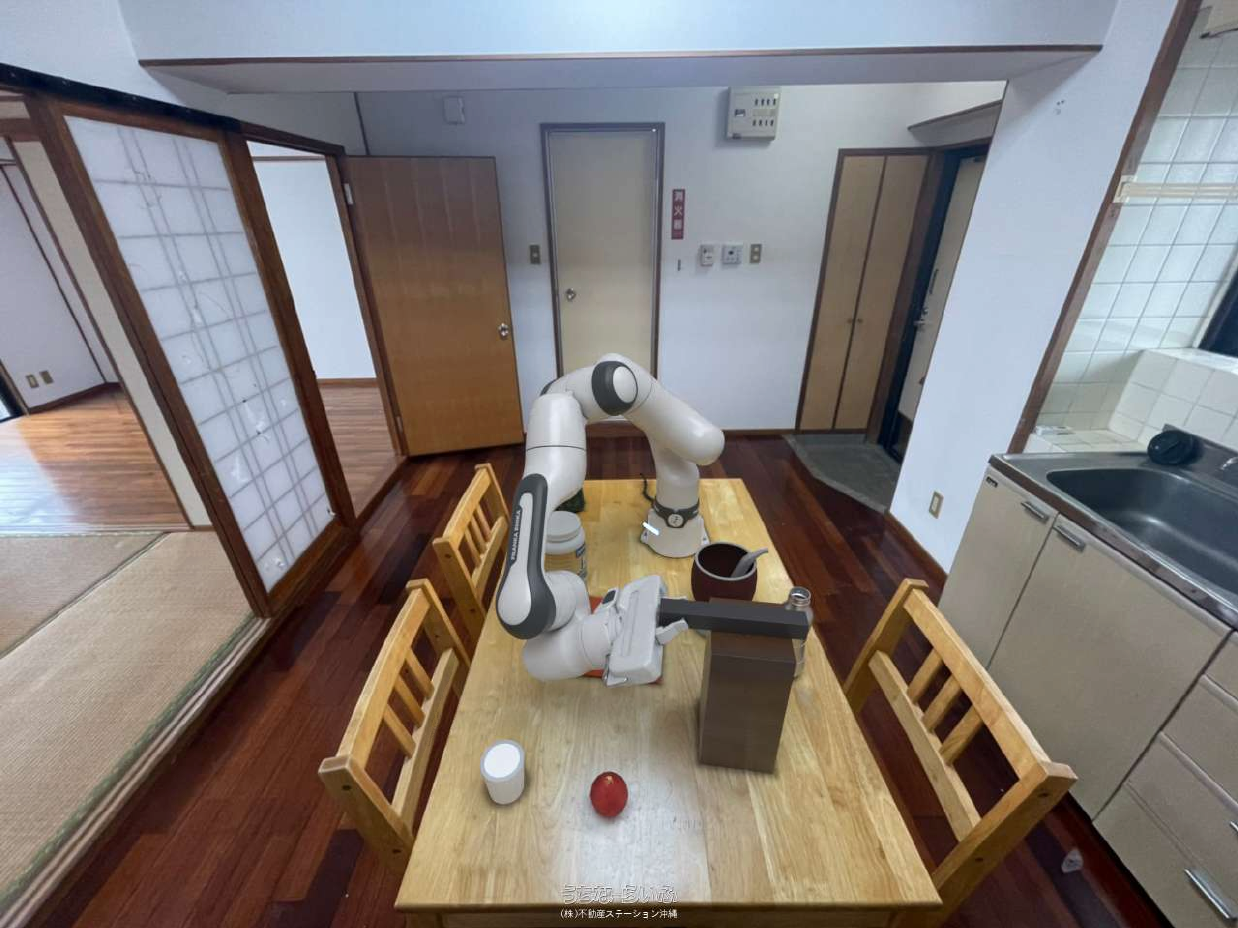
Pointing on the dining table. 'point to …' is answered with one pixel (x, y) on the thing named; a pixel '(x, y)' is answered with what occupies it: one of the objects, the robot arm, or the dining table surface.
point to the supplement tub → (565, 544)
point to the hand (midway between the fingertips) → (687, 611)
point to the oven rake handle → (735, 618)
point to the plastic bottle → (800, 602)
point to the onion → (608, 794)
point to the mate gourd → (724, 573)
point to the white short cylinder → (503, 771)
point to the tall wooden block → (744, 696)
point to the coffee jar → (573, 503)
